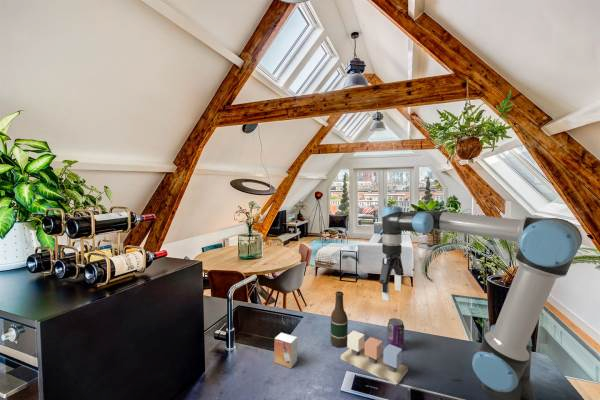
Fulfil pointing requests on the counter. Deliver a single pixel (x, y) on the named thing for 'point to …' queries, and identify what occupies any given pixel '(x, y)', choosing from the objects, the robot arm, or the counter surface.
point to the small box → (285, 350)
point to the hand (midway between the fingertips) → (392, 295)
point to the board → (374, 365)
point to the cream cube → (355, 341)
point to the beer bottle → (339, 323)
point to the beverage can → (395, 333)
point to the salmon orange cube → (373, 348)
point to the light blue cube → (392, 356)
